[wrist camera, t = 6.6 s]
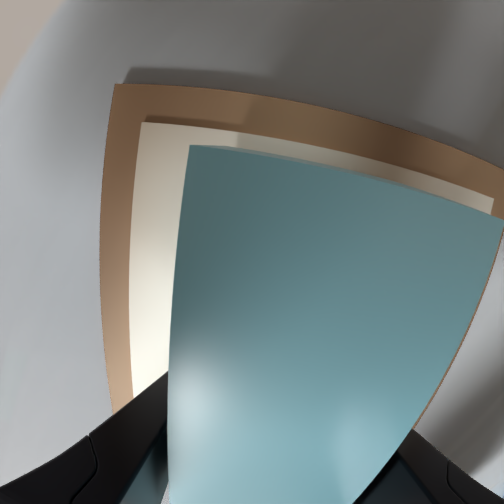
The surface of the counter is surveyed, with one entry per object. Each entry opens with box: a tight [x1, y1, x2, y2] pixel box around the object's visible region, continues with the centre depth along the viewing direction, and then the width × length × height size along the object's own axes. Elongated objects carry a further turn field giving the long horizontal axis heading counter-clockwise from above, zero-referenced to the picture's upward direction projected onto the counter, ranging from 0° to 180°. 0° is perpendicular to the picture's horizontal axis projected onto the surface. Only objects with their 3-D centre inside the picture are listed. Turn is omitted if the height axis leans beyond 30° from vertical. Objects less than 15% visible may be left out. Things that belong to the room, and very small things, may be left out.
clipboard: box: [100, 84, 504, 429], centre depth 9 cm, size 12×15×1 cm
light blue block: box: [167, 145, 504, 504], centre depth 7 cm, size 10×4×4 cm, turn 170°
